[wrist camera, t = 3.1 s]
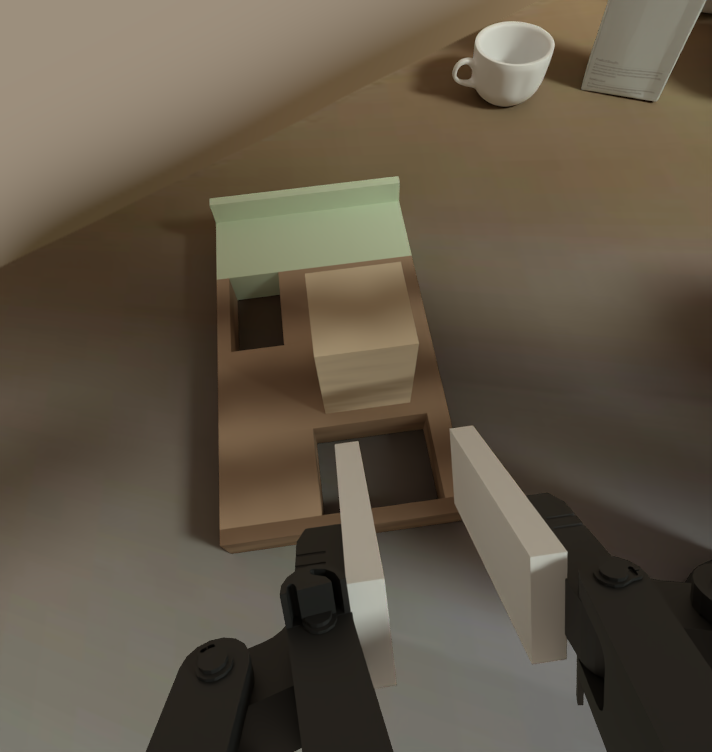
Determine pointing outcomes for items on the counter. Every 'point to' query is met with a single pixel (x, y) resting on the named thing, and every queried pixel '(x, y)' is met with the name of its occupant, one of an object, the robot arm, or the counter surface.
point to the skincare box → (639, 46)
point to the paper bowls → (707, 7)
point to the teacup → (508, 62)
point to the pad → (305, 231)
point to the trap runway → (310, 425)
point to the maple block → (362, 336)
